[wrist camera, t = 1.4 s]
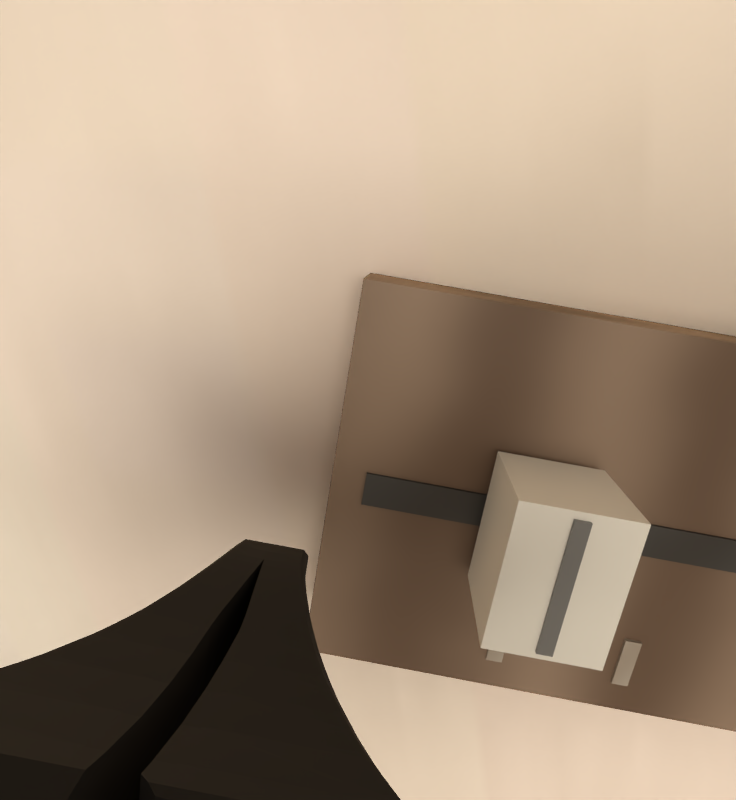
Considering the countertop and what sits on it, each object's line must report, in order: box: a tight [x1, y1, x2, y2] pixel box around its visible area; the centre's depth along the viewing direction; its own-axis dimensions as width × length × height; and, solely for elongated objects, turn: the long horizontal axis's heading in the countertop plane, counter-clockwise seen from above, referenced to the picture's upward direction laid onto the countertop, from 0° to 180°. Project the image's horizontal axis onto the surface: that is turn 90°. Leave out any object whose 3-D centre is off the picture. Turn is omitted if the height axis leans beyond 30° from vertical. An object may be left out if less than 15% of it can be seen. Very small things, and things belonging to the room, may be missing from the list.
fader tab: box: [468, 451, 651, 671], centre depth 15 cm, size 3×4×3 cm
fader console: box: [310, 273, 736, 731], centre depth 18 cm, size 22×12×3 cm, turn 80°
